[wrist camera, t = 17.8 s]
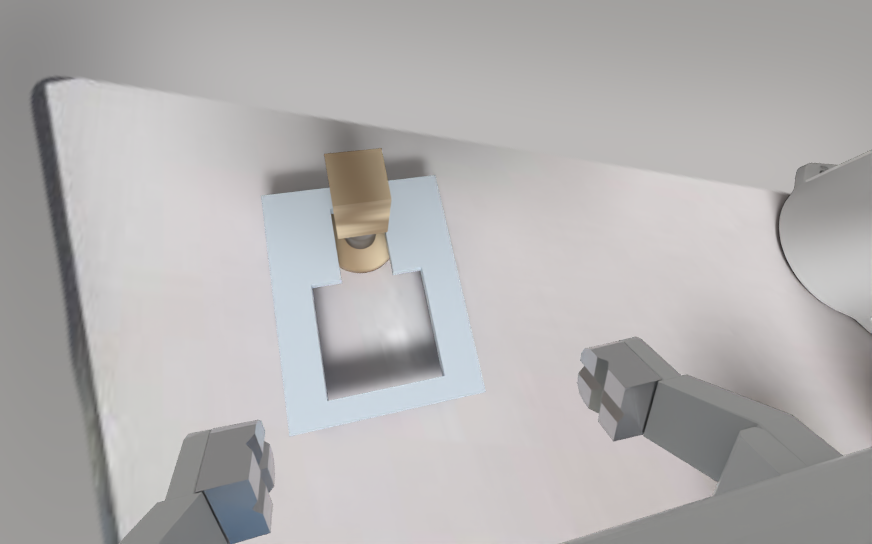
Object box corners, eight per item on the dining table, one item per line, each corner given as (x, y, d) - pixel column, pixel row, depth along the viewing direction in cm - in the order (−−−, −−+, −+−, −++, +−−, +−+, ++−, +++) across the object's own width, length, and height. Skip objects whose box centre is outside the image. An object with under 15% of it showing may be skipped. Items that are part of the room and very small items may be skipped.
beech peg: (388, 203, 39) (396, 130, 28) (401, 267, 37) (414, 214, 27) (319, 212, 38) (301, 139, 27) (329, 278, 36) (314, 227, 26)
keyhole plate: (429, 192, 40) (435, 175, 37) (475, 392, 35) (485, 391, 32) (269, 212, 37) (261, 195, 34) (296, 433, 32) (289, 436, 29)
